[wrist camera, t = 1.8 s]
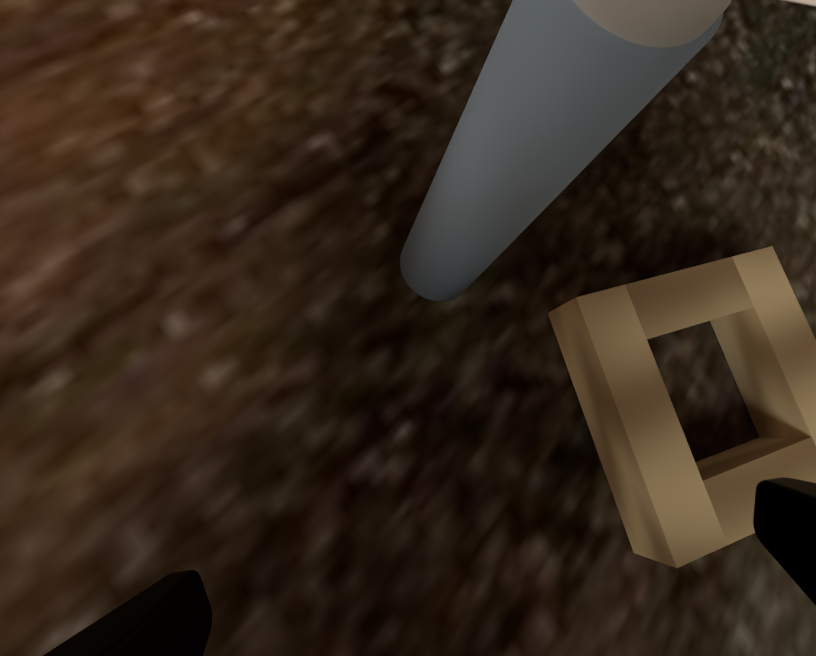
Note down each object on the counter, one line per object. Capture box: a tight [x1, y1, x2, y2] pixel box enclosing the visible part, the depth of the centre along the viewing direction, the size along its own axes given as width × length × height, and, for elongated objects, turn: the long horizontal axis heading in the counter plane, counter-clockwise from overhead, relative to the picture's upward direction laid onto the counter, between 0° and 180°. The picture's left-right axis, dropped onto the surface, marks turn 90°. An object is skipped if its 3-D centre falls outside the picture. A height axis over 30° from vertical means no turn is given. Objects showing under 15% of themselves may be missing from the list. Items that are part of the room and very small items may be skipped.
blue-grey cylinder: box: [400, 0, 732, 301], centre depth 14 cm, size 4×4×16 cm
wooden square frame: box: [548, 246, 816, 568], centre depth 21 cm, size 11×11×2 cm
